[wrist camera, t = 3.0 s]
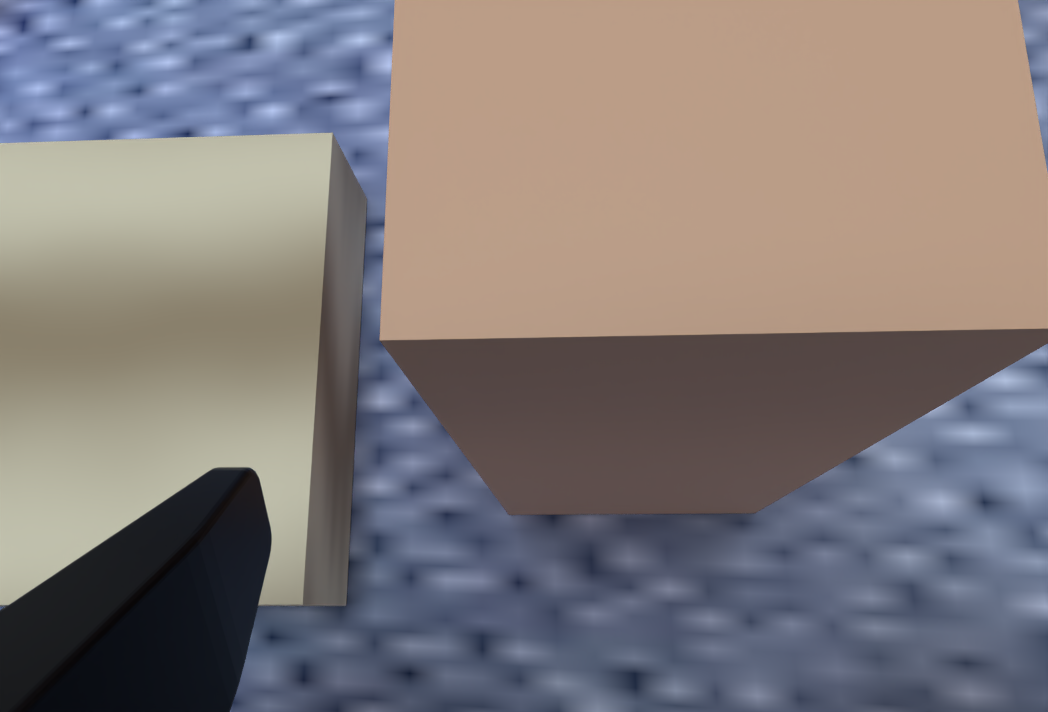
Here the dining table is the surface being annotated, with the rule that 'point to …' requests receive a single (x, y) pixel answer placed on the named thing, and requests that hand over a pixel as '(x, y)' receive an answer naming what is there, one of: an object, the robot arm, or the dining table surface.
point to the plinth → (178, 343)
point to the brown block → (704, 235)
